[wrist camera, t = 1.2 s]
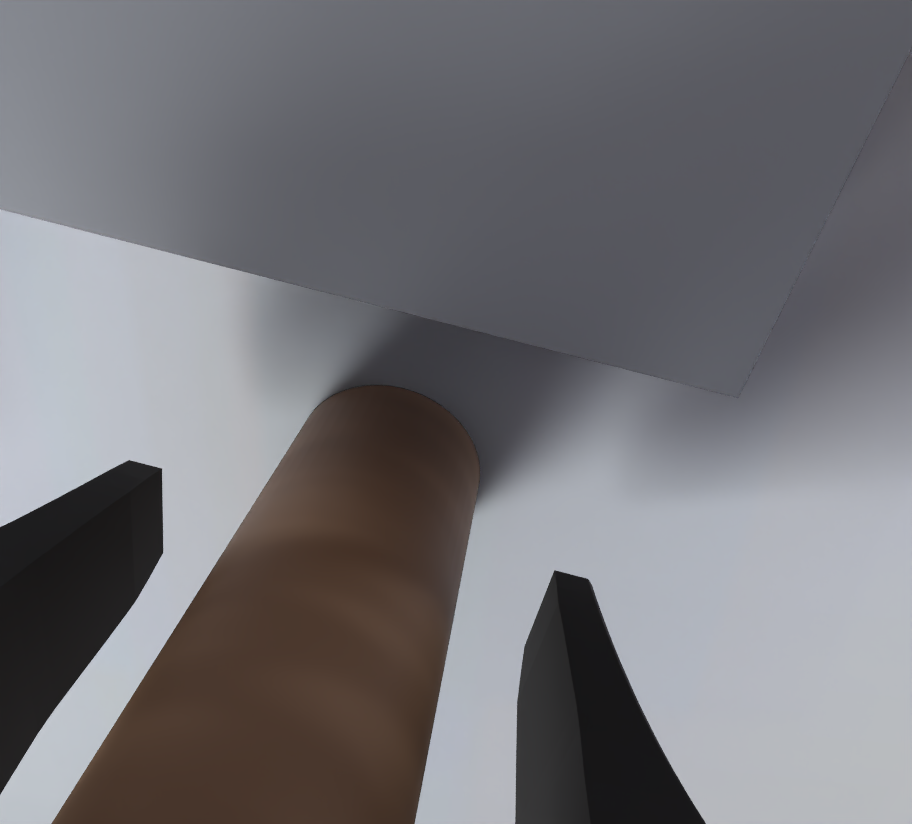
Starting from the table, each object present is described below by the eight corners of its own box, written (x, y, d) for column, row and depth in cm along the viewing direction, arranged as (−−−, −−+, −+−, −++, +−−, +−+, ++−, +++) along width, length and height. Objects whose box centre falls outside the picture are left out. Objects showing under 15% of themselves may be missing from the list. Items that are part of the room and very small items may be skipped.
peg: (500, 413, 14) (414, 909, 6) (458, 557, 16) (355, 1062, 8) (308, 363, 14) (-8, 797, 6) (291, 513, 16) (37, 976, 8)
